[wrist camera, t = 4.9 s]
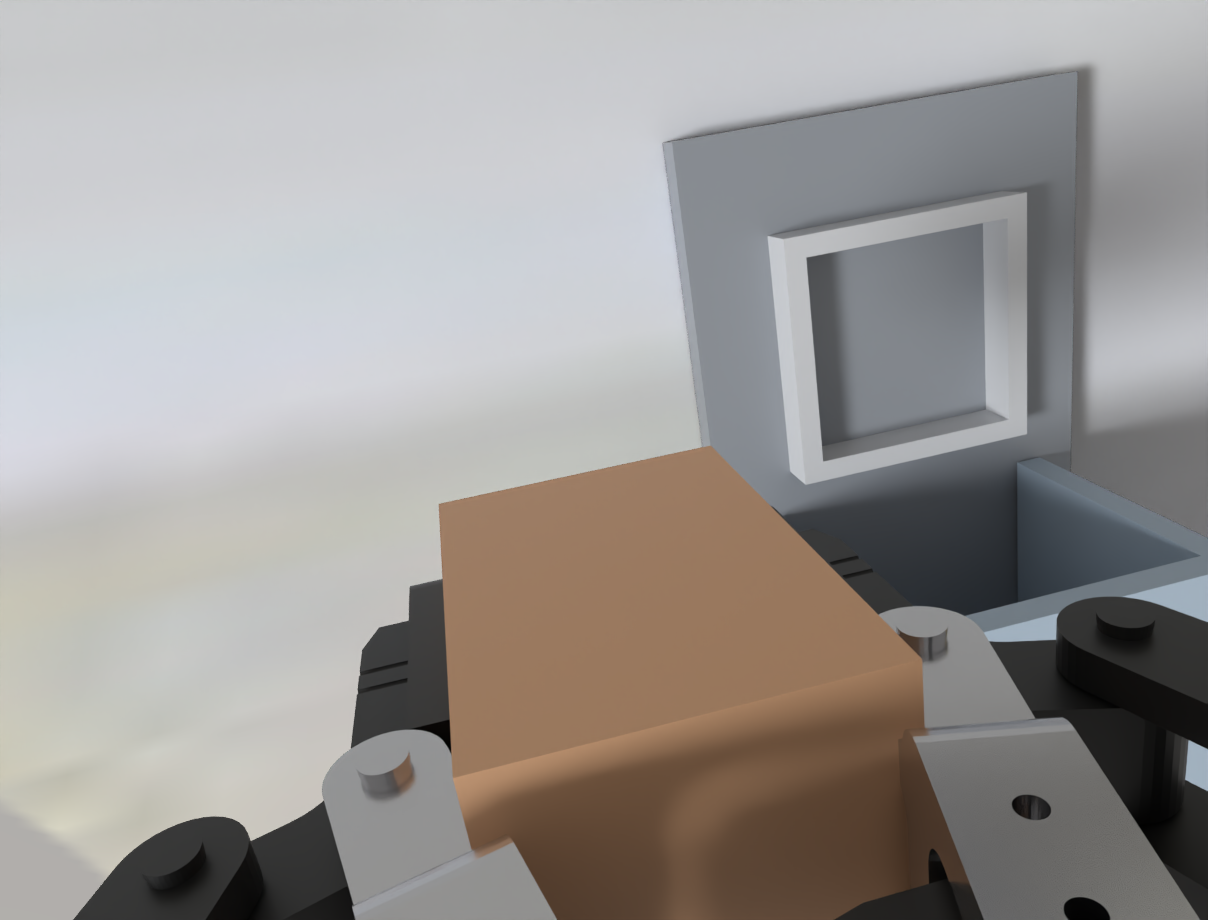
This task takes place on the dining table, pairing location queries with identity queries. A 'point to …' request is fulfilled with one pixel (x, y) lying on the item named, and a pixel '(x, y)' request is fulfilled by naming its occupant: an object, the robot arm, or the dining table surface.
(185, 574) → the dining table surface
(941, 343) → the housing base
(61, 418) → the dining table surface
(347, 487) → the dining table surface
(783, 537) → the tan rectangular block
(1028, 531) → the cover
